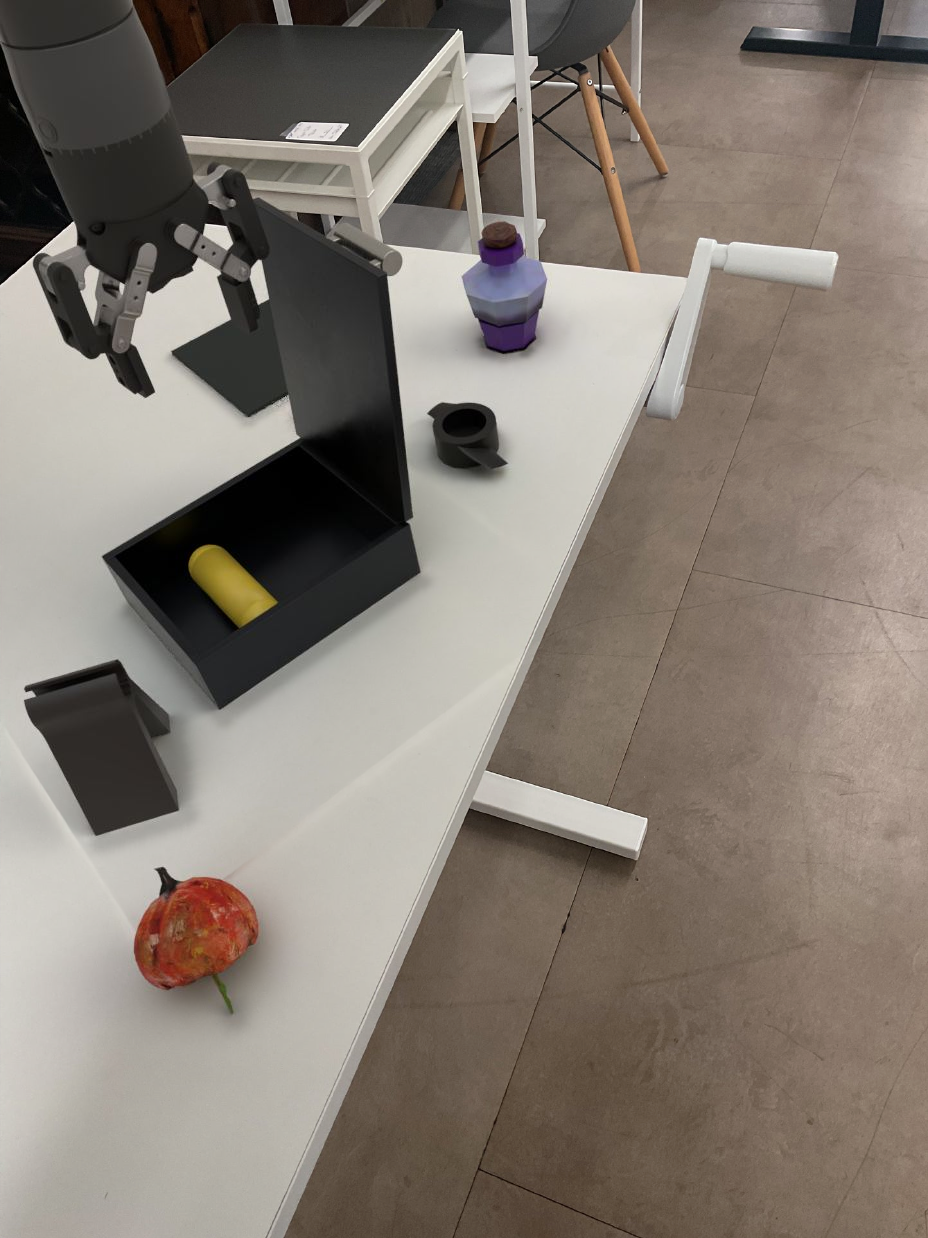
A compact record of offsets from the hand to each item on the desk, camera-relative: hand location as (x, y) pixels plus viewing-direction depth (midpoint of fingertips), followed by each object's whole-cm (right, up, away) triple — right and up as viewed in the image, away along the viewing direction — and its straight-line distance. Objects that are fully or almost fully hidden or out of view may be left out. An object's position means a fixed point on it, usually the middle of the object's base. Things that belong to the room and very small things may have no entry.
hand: (195, 358), depth 67 cm
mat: (-3, +11, +40) cm, 42 cm away
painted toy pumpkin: (+2, -39, -3) cm, 39 cm away
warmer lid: (+8, +1, +8) cm, 11 cm away
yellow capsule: (0, -16, +15) cm, 22 cm away
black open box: (+2, -15, +17) cm, 23 cm away
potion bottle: (+23, +12, +37) cm, 45 cm away
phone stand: (-6, -29, +7) cm, 31 cm away
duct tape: (+18, -2, +26) cm, 32 cm away
